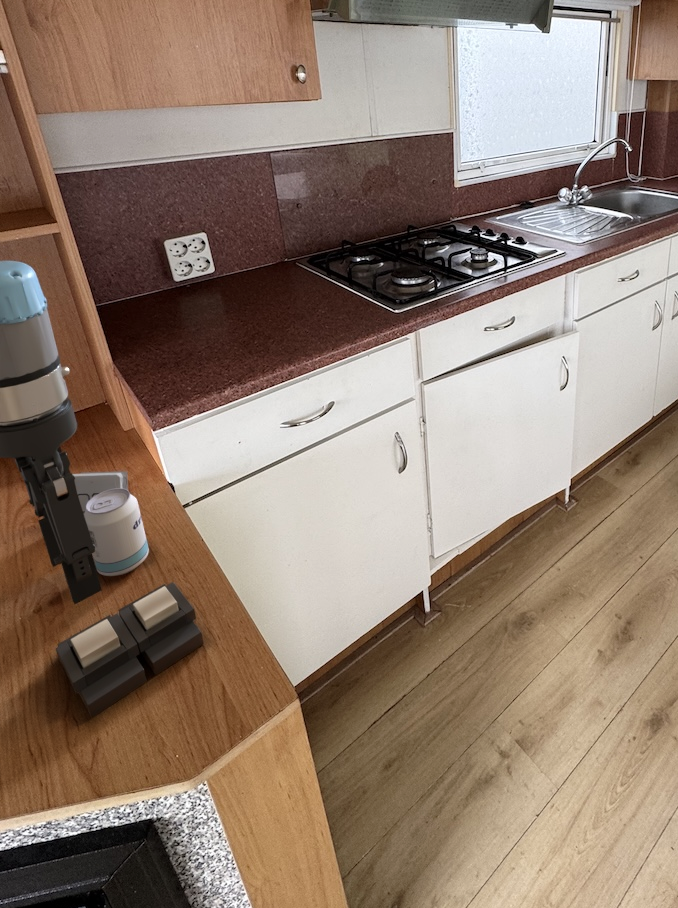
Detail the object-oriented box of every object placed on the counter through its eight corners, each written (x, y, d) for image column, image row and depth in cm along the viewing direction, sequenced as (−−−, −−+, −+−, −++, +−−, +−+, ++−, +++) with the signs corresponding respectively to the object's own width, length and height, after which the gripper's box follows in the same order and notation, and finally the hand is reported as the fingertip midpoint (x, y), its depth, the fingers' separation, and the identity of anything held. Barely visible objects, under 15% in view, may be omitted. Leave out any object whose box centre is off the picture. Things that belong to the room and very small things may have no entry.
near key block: (56, 659, 75) (49, 636, 73) (116, 624, 80) (110, 602, 78) (87, 721, 68) (79, 697, 66) (151, 679, 72) (145, 655, 71)
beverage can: (150, 570, 89) (135, 506, 85) (96, 588, 85) (78, 522, 81) (149, 541, 94) (135, 480, 90) (99, 557, 91) (81, 494, 87)
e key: (135, 613, 77) (132, 603, 77) (166, 595, 80) (164, 585, 80) (146, 631, 75) (144, 621, 74) (179, 611, 78) (176, 601, 77)
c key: (73, 649, 72) (70, 639, 72) (109, 628, 75) (106, 618, 75) (83, 669, 70) (80, 658, 69) (120, 646, 73) (117, 636, 72)
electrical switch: (63, 532, 96) (53, 482, 94) (82, 513, 101) (73, 465, 99) (122, 529, 97) (114, 480, 95) (138, 511, 102) (131, 464, 100)
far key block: (117, 623, 80) (111, 601, 79) (170, 593, 85) (165, 572, 83) (151, 678, 73) (145, 655, 71) (207, 641, 78) (202, 619, 76)
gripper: (100, 429, 57) (143, 604, 65) (42, 366, 70) (85, 520, 77) (4, 463, 52) (64, 649, 60) (-40, 389, 64) (15, 551, 72)
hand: (76, 576), depth 69 cm, fingers open, 8 cm apart
